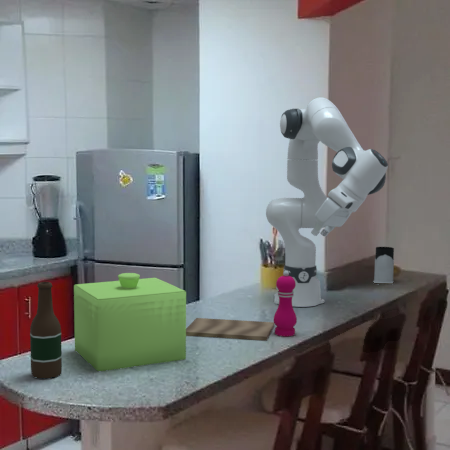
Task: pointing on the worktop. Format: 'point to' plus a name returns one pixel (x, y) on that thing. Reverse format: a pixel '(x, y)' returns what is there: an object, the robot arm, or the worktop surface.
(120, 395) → the worktop surface
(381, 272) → the glass holder
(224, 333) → the walnut board
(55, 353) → the beer bottle
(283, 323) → the pepper mill
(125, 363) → the canister
